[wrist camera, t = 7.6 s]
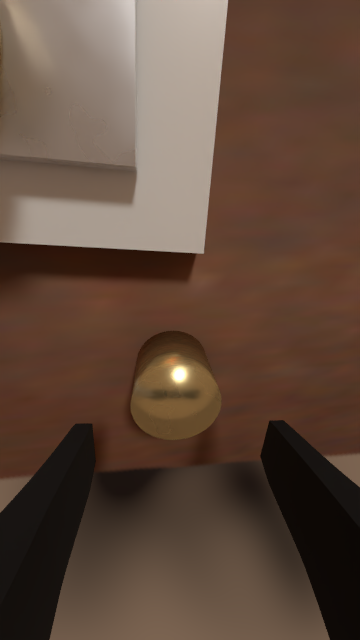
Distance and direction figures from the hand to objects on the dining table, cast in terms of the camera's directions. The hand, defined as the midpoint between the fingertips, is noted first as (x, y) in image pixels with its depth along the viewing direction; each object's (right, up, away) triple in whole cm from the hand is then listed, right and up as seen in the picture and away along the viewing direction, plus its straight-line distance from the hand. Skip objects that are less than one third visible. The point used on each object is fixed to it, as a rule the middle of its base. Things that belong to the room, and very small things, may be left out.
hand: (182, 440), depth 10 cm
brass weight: (-1, +2, +6) cm, 6 cm away
